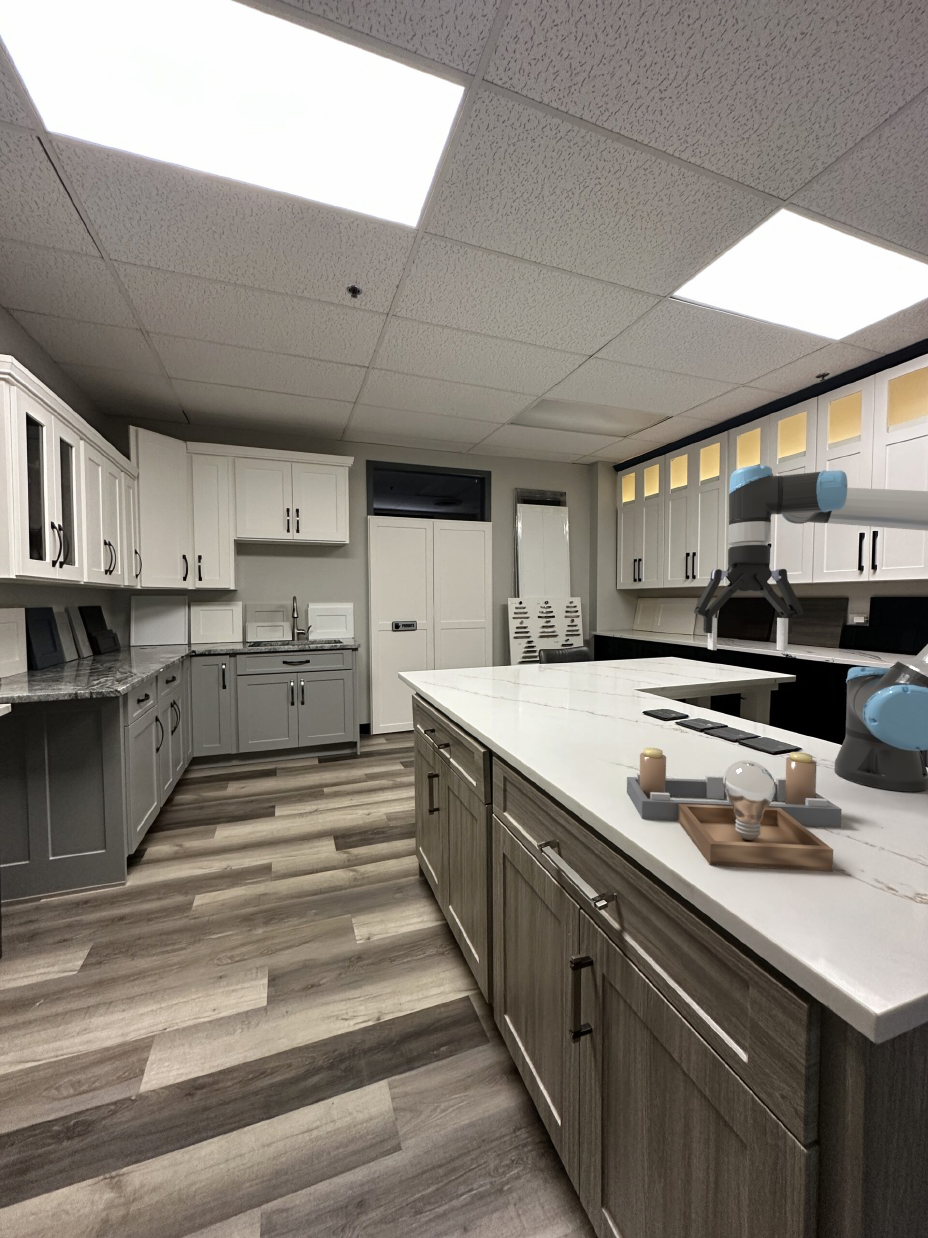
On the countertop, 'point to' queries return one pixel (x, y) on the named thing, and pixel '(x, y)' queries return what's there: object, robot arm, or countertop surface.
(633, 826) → the countertop surface
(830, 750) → the countertop surface
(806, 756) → the cylinder
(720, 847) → the tray
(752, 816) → the light bulb
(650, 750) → the cylinder
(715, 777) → the holder
